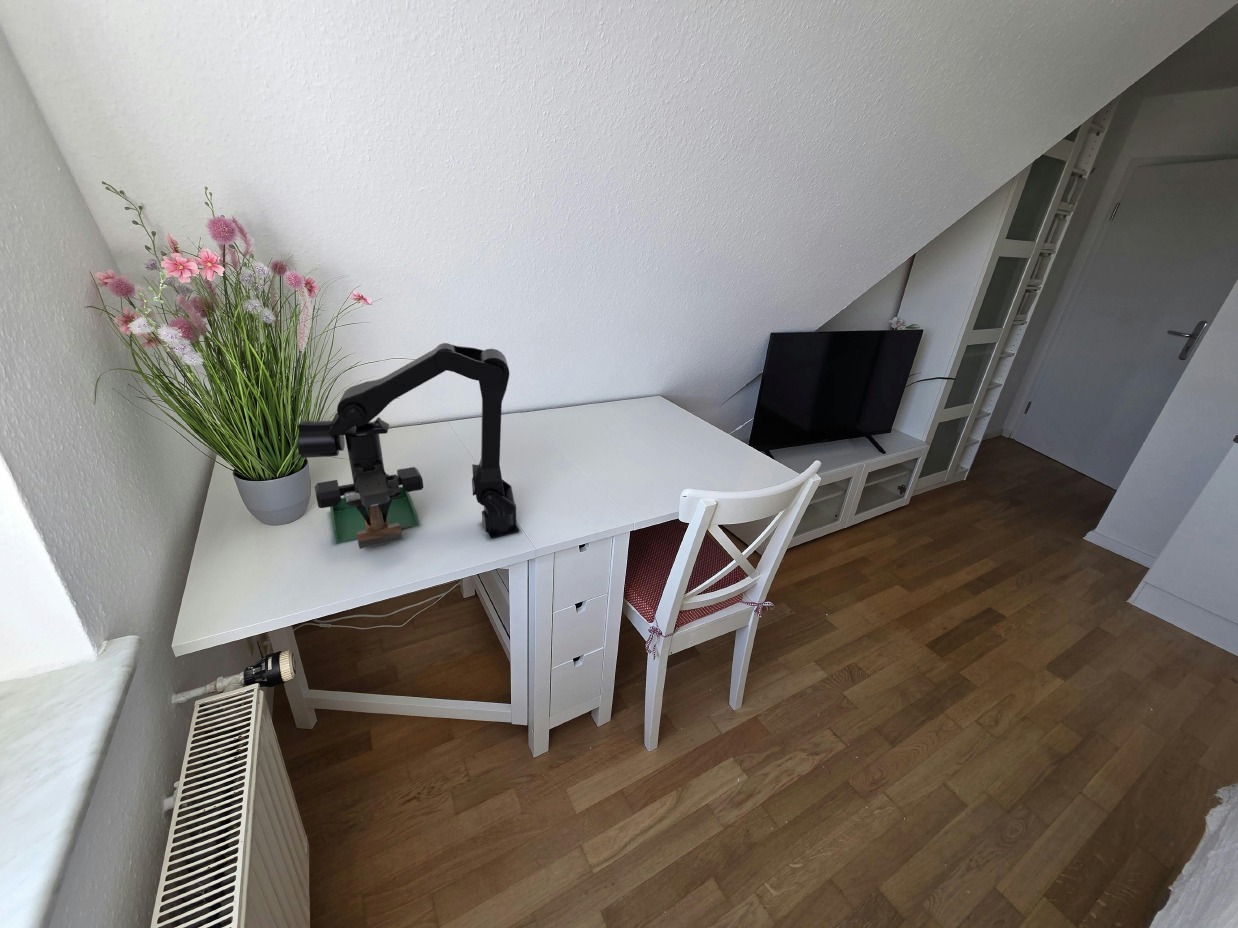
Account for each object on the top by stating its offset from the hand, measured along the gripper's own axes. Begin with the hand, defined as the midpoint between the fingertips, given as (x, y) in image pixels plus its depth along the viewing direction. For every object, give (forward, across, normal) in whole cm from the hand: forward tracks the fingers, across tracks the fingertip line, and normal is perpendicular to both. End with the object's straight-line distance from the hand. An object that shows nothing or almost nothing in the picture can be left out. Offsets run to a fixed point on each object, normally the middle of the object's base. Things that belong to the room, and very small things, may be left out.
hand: (376, 522), depth 104 cm
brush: (+3, 0, -2) cm, 4 cm away
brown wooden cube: (+4, 0, +1) cm, 4 cm away
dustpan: (+4, 0, +14) cm, 14 cm away
